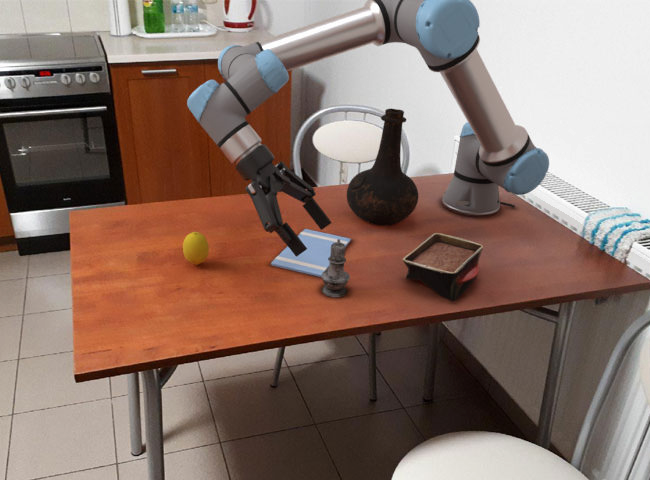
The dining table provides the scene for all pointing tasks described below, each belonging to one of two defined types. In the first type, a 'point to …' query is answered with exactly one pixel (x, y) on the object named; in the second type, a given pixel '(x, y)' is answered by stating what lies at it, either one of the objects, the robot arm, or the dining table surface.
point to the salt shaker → (336, 272)
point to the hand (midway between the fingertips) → (314, 239)
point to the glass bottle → (384, 180)
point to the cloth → (310, 253)
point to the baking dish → (445, 264)
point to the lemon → (195, 248)
